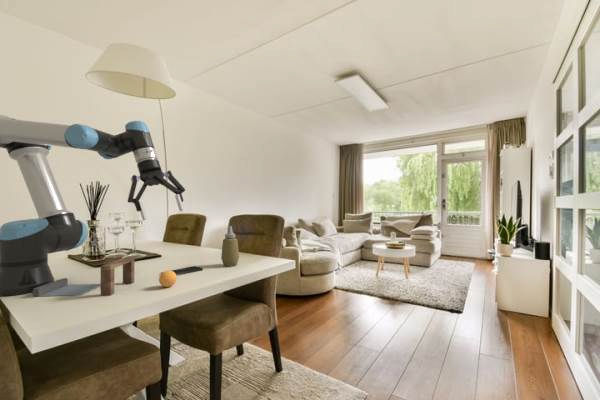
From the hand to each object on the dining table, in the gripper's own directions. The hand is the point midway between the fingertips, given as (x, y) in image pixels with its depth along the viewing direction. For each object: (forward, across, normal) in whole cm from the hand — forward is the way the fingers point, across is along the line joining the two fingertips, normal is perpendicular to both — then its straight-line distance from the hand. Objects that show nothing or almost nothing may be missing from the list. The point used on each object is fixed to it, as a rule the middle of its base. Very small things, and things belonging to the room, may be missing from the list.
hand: (164, 214), depth 105 cm
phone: (+24, +4, +12) cm, 27 cm away
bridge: (+20, -20, +4) cm, 29 cm away
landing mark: (+16, -30, +12) cm, 36 cm away
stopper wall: (+14, -35, +17) cm, 42 cm away
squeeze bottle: (+29, +24, +9) cm, 38 cm away
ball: (+22, -7, -6) cm, 24 cm away
